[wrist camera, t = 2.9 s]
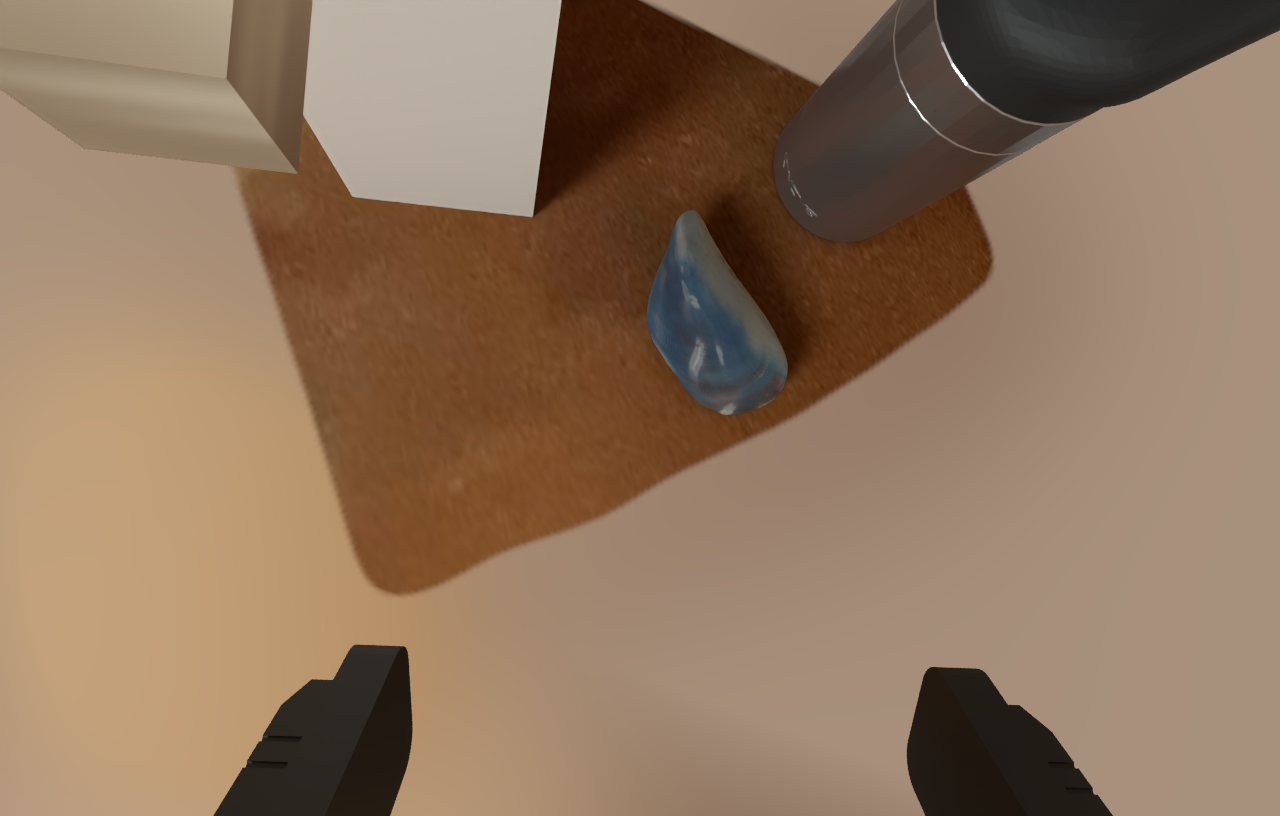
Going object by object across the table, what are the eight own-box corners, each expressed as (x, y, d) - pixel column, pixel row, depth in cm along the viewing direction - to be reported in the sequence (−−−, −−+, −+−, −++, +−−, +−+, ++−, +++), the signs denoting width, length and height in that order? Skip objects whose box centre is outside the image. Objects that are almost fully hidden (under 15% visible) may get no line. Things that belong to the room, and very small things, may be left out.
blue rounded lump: (764, 442, 41) (843, 283, 37) (614, 387, 41) (675, 220, 36) (761, 396, 47) (828, 253, 42) (629, 348, 47) (683, 199, 42)
